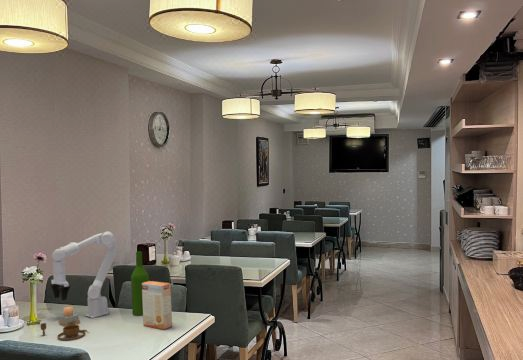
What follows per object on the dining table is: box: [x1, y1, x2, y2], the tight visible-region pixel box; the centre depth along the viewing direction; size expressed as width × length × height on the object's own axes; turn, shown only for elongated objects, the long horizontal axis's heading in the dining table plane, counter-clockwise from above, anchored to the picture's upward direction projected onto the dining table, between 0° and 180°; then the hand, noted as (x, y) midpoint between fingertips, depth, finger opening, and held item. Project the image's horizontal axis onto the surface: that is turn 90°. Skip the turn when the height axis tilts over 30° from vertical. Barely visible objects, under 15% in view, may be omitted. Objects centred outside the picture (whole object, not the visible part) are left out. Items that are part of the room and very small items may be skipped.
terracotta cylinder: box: [63, 305, 74, 317], centre depth 245 cm, size 4×4×4 cm
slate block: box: [59, 312, 79, 323], centre depth 245 cm, size 6×6×2 cm
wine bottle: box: [130, 250, 150, 317], centre depth 259 cm, size 9×9×32 cm
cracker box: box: [142, 280, 173, 331], centre depth 236 cm, size 14×6×21 cm, turn 55°
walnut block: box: [58, 318, 81, 328], centre depth 245 cm, size 7×7×2 cm
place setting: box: [40, 322, 90, 342], centre depth 229 cm, size 18×20×6 cm
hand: (60, 298), depth 254 cm, fingers open, 7 cm apart
